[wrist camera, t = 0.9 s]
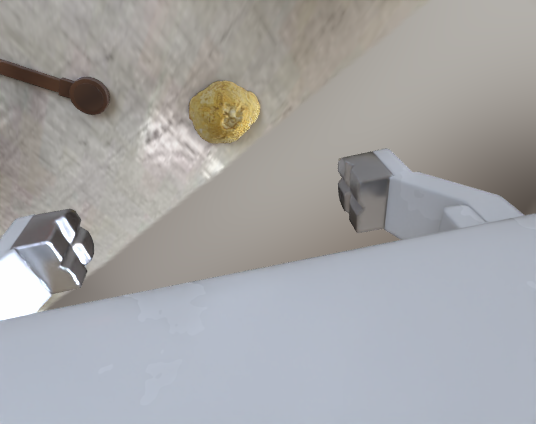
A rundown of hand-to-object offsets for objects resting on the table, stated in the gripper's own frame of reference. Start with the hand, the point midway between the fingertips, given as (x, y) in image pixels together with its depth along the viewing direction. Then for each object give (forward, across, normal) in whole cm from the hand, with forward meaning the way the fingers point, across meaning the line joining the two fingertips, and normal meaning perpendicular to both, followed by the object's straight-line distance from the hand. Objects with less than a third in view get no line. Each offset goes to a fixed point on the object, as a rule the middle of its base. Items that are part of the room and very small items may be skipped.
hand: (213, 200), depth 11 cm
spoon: (+46, +26, +4) cm, 53 cm away
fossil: (+47, 0, +14) cm, 49 cm away
